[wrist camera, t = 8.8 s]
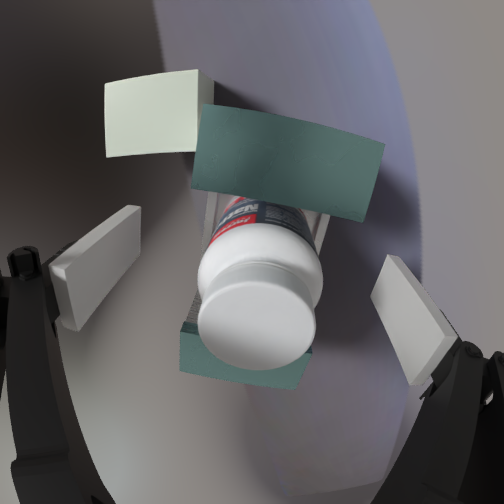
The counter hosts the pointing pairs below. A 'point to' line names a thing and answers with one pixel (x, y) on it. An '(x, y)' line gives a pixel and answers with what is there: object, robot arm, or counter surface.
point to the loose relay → (156, 112)
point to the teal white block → (274, 199)
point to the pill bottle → (259, 286)
